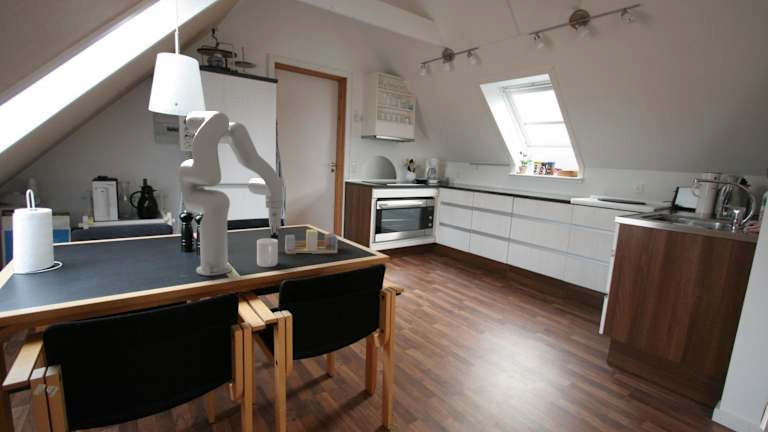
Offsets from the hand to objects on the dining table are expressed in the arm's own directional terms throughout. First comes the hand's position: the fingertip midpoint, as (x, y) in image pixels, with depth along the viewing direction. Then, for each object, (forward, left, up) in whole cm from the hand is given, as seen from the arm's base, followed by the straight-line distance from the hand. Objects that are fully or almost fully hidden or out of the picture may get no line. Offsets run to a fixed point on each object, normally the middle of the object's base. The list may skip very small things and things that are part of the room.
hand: (274, 242), depth 172 cm
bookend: (0, -7, -3) cm, 8 cm away
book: (-1, -17, -3) cm, 18 cm away
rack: (0, -17, -5) cm, 18 cm away
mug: (-21, +3, -5) cm, 22 cm away
